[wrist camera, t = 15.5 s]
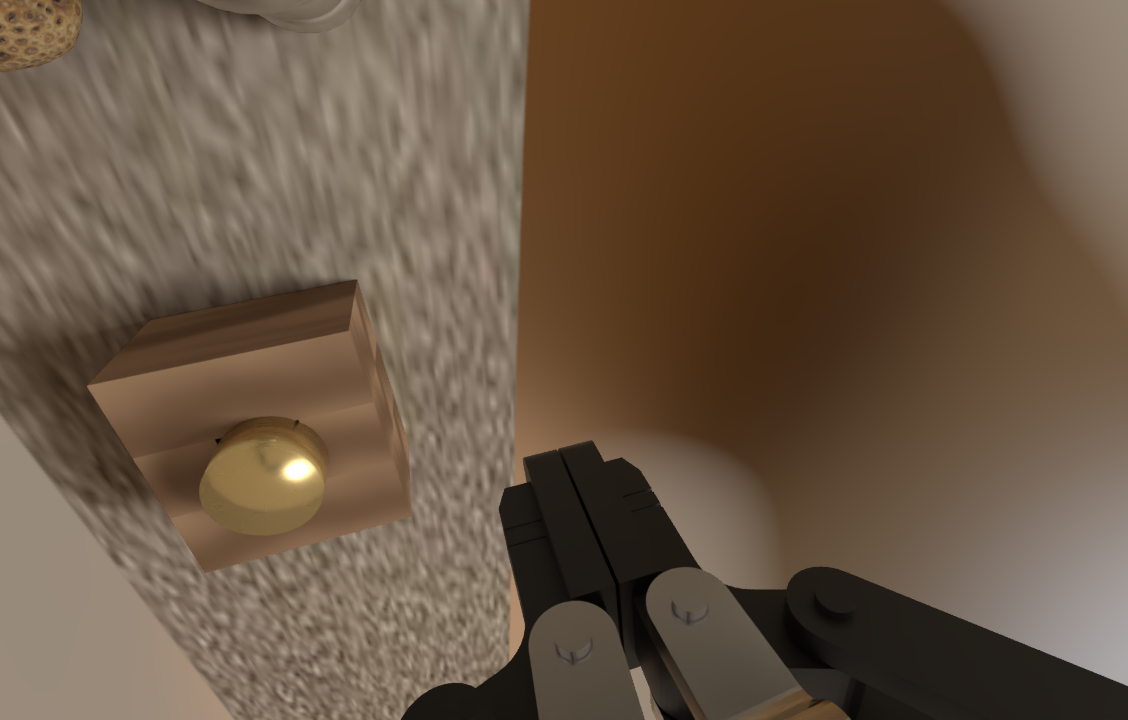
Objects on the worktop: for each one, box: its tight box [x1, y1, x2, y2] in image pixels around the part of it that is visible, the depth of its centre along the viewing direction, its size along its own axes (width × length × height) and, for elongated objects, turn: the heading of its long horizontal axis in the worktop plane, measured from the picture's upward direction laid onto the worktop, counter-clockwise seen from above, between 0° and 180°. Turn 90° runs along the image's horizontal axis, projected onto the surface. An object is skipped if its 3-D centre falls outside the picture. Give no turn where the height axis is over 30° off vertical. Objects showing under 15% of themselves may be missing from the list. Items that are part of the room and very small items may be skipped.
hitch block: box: [87, 280, 412, 573], centre depth 34 cm, size 13×12×8 cm
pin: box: [199, 416, 329, 536], centre depth 32 cm, size 6×6×10 cm
